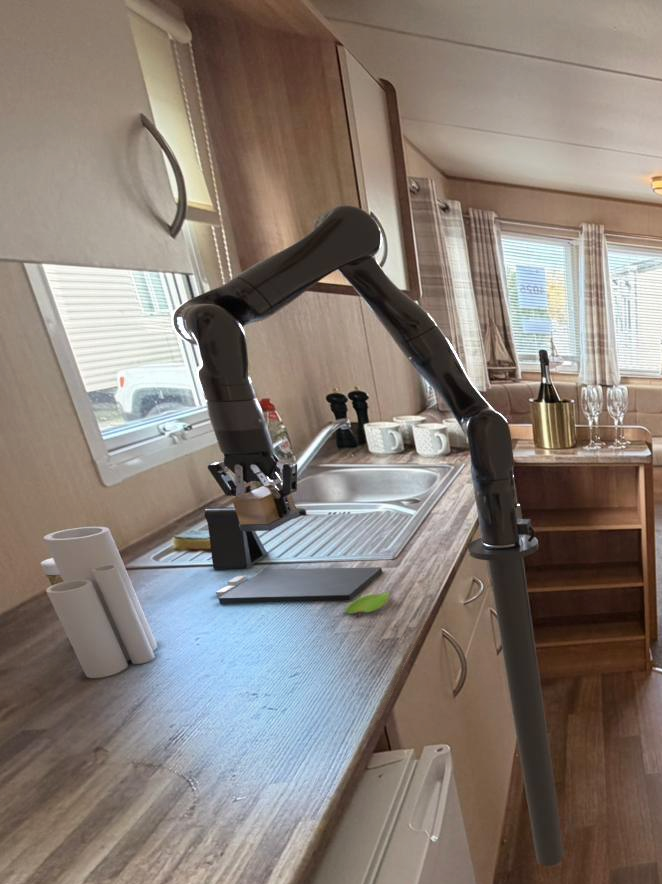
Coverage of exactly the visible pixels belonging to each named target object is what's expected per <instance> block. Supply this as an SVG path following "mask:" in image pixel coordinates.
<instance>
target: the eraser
mask: <svg viewBox="0 0 662 884" xmlns="http://www.w3.org/2000/svg"><path fill="white" fill-rule="evenodd" d="M287 498H288V501H289V505H290V508H291V512H290V513H289V515H288V516H286V517H279V514H278V511H277V508H276V505H275V502H274V499H275V497H274V496H273V495H272V494H271V492H270V491H269V489H268V488H266V487H265V486H264V485H262V486H260V487H258V488H255V489H252V491H250V492H248V493H246V494H243V495H241V496H239V497H236V496H235V497H234V498H232V499H231V502H232V504H233V507H235V510H236V513H237V516H238V519H239V522H240V525H239V528H240V531H255V532H270V531H273V530H276V529H277V528H280V526H282V525H284V524H286V523H288V522H290V521H291V520H293V519H295V518H297V517H299V516H301V514H300V511H299V508H298V509H297V507H296V503H295V500H294V497H293V493H292V494H289V495H288V496H287Z"/></svg>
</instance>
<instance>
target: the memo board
mask: <svg viewBox="0 0 662 884" xmlns="http://www.w3.org/2000/svg"><path fill="white" fill-rule="evenodd" d="M382 573H383V568H382V567H378V566H377V567H374V566H373V567H323V568H321V567H320V568H319V567H318V568H317V567H316V568H315V567H314V568H265V569H264V570H262V571H260V572H259V573H257V574H256V575H255V574H254V576H252V577H250V578H249V579H247V581H245V582H243V583H242V584H240V585H238V586H235V588H234V589H233V590H231V591H229V592H228V593H226V594H224V595H223V596H221V597H218V601H219V604H221V605H226V604H227V605H229V604H266V603H267V604H269V603H272V604H273V603H311V602H344V601H345V602H346V601H348V602H349V601H351V600H352V599H354V598H355V597H356V596H357V595H358V594H359V593H360V592H362V591H363V590H364V589H365V588H366V587H367V586H369V585H370V584H371V583H372V582H373V581H374V580H376V579H377V578H378V577H379V576H380V575H381V574H382Z"/></svg>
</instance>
